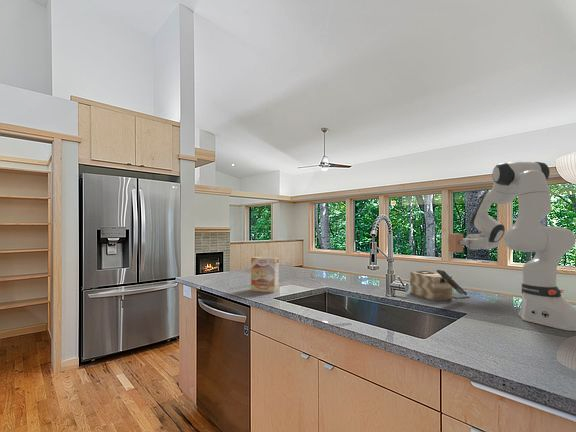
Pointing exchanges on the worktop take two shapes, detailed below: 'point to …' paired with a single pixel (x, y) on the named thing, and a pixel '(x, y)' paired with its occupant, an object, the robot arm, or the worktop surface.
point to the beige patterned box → (429, 285)
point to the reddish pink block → (455, 243)
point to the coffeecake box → (264, 274)
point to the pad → (459, 296)
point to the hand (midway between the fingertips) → (454, 242)
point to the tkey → (451, 282)
